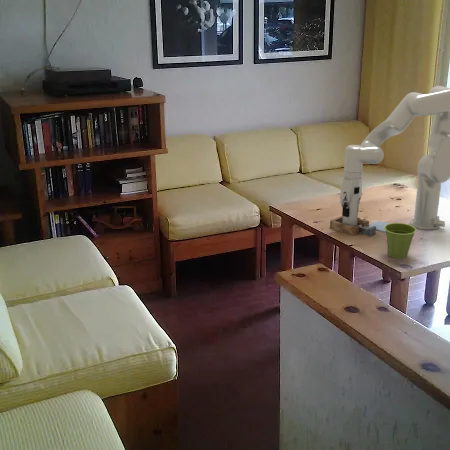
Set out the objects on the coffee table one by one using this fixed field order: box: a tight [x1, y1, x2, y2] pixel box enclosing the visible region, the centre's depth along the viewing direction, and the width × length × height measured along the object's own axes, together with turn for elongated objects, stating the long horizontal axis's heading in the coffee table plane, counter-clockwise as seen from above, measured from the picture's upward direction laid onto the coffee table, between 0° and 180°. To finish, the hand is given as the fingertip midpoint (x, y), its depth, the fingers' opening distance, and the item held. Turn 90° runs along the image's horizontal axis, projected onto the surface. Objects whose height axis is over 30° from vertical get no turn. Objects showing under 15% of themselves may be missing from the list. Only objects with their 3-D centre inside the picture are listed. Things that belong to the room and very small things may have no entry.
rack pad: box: [369, 220, 390, 234], centre depth 245 cm, size 10×10×1 cm
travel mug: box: [343, 187, 360, 226], centre depth 241 cm, size 6×7×20 cm
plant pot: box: [384, 222, 417, 259], centre depth 214 cm, size 12×12×11 cm
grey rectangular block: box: [358, 225, 377, 237], centre depth 238 cm, size 7×4×3 cm, turn 45°
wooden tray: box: [329, 215, 370, 236], centre depth 244 cm, size 12×11×4 cm
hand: (350, 214), depth 242 cm, fingers closed on travel mug, 6 cm apart
